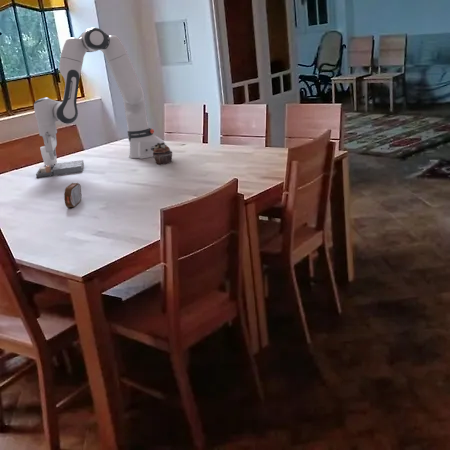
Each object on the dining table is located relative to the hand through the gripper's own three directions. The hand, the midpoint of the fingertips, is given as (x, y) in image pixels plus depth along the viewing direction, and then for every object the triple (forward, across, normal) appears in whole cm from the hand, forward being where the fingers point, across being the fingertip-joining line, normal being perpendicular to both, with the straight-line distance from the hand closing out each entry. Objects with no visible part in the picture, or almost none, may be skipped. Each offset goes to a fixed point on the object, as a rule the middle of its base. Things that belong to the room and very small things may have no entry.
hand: (53, 157), depth 326 cm
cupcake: (+9, -14, -54) cm, 57 cm away
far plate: (+8, 0, -6) cm, 10 cm away
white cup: (+8, +25, +5) cm, 27 cm away
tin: (+8, -73, -14) cm, 75 cm away
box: (+8, 0, +5) cm, 9 cm away
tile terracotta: (+5, -4, +2) cm, 7 cm away
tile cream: (+5, +4, +6) cm, 9 cm away
